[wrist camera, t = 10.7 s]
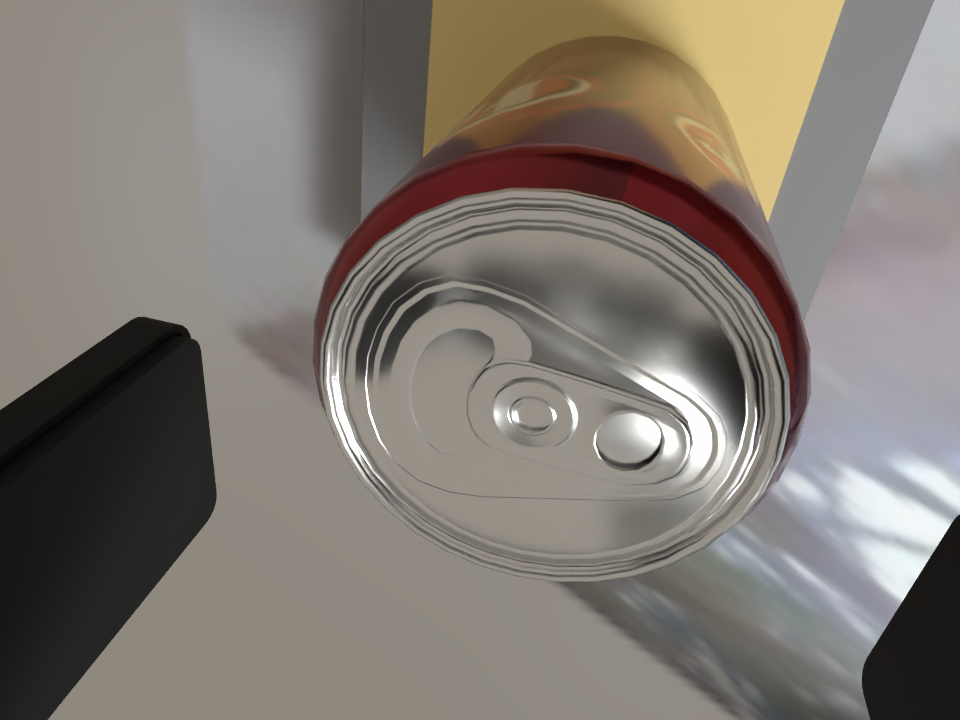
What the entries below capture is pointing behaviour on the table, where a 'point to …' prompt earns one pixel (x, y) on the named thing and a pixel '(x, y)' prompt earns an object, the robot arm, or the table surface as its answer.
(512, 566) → the soda can
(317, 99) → the table surface
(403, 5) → the dock
